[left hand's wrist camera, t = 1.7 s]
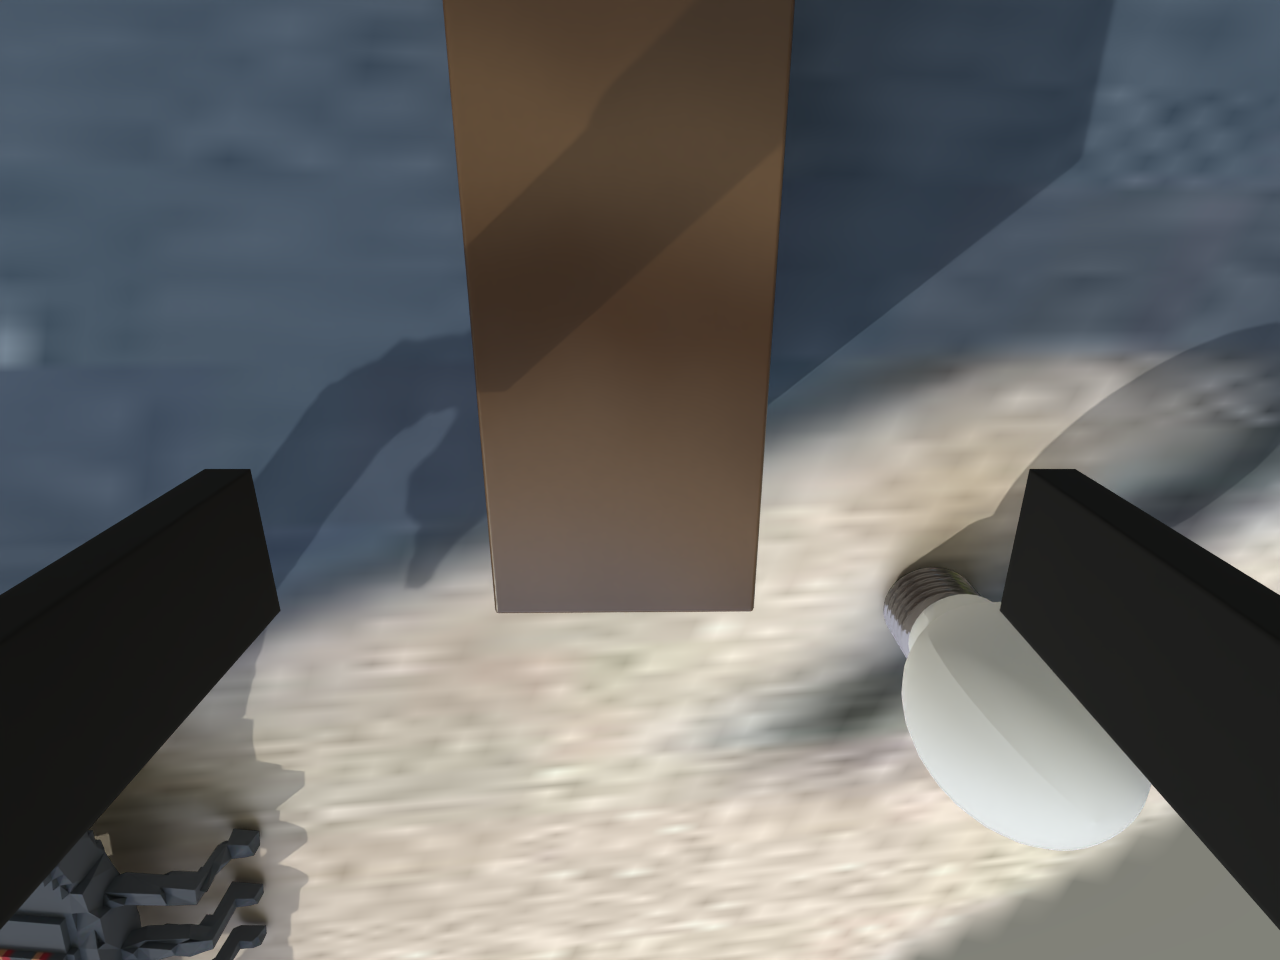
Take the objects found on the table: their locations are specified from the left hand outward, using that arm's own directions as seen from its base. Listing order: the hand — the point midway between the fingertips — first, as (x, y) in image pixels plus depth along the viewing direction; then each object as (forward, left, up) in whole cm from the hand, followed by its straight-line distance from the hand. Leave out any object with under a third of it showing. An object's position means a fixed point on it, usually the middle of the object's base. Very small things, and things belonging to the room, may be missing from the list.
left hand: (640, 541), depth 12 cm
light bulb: (+12, -10, -15) cm, 22 cm away
